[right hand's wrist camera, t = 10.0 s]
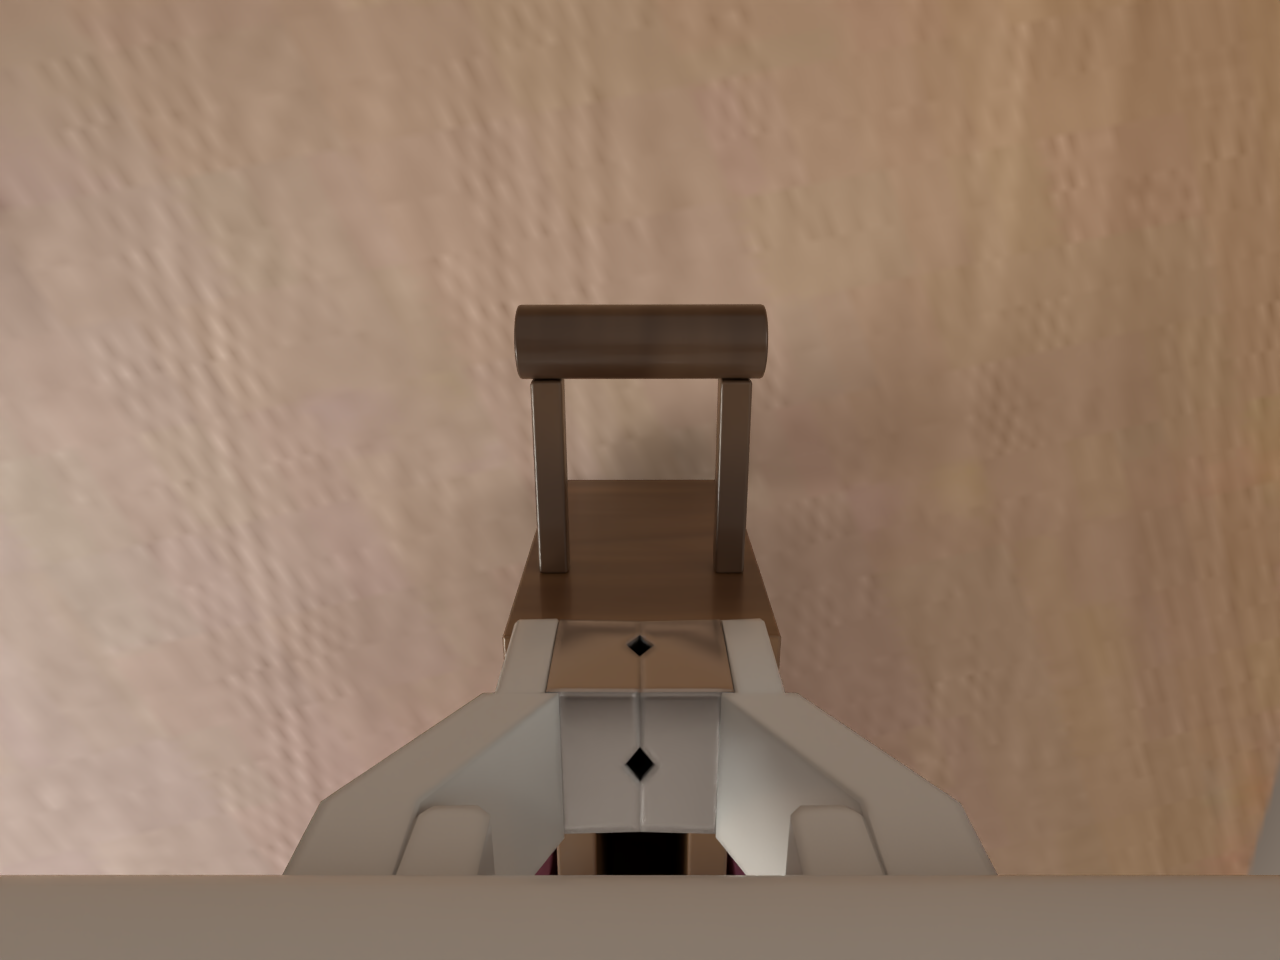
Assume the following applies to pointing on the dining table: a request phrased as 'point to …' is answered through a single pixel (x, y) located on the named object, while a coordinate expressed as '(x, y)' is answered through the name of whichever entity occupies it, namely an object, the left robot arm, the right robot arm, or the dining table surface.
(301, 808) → the dining table surface
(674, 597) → the wooden drawer
